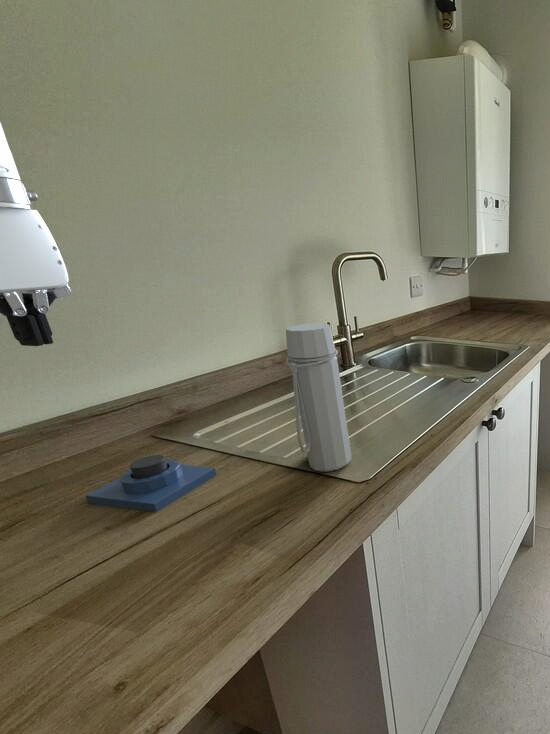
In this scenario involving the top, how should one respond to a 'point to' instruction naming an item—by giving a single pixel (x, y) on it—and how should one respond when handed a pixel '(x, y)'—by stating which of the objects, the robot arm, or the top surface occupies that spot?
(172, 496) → the blue base plate
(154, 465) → the dark grey round knob
